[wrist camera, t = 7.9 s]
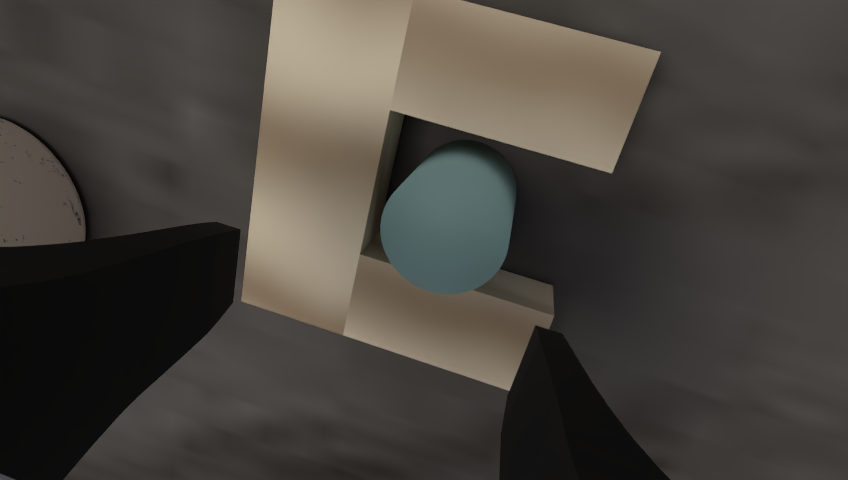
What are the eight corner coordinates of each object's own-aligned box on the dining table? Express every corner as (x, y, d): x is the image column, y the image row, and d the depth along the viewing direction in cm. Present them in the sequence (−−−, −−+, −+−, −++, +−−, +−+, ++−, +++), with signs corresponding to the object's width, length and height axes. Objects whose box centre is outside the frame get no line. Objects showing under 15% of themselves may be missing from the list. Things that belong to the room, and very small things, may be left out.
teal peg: (499, 250, 21) (487, 309, 16) (406, 221, 21) (369, 271, 17) (530, 156, 19) (527, 193, 15) (428, 127, 20) (395, 155, 15)
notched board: (524, 358, 22) (522, 395, 20) (270, 275, 24) (241, 301, 21) (645, 49, 17) (661, 52, 15) (311, -38, 18) (278, -47, 16)
